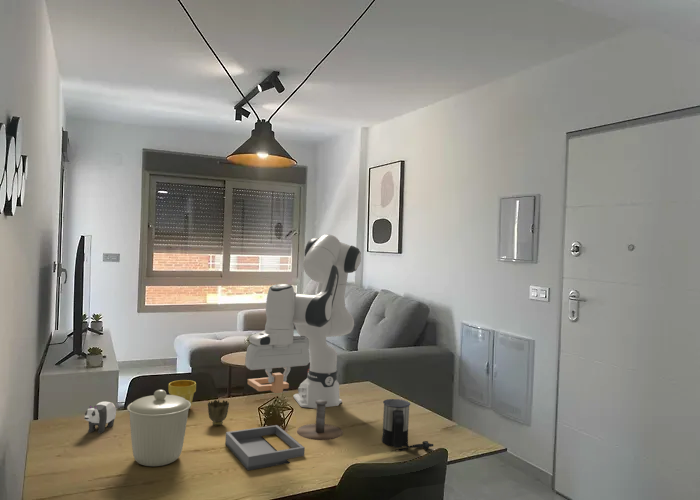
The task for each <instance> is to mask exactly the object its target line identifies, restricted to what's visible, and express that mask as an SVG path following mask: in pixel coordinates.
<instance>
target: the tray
mask: <svg viewBox="0 0 700 500" xmlns="http://www.w3.org/2000/svg"><path fill="white" fill-rule="evenodd" d="M271 435H276V436H277V437H278V438H279V439H281V440H282V441H283V443H286V445H288V446H289V448H287V449H280V450H277V449H276V448H275V447H274V446H273V445H272V444H271V443H270V442H269V441H268V440H266V438H264V437H263V436H271ZM225 446H226V447H227V448H228V450H230V452H231V453H232V454H233V455H234V456H235V457H236V458H237V460H238V461H239V462H240V463H241V464H242V466H243V467H244V468H245V469H246V470H247V471H252V470H258V469H265V468H269V467H270V468H271V467H276V466H281V465H287V464H291V462H290V461H289V460H288V459H294V458H299V457H300V458H301V457H304V456H305V446H303V445H302V444H301V443H300V442H299V441H297V440H296V439H295V438H294V437H293V436H292V435H290V434H289V433H288V432H286V430H284V429H283V428H282V427H280V426H279V425H278V424H275V425H268V426H260V427H252V428H245V429H239V430H231V431H226V432H225Z"/></svg>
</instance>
